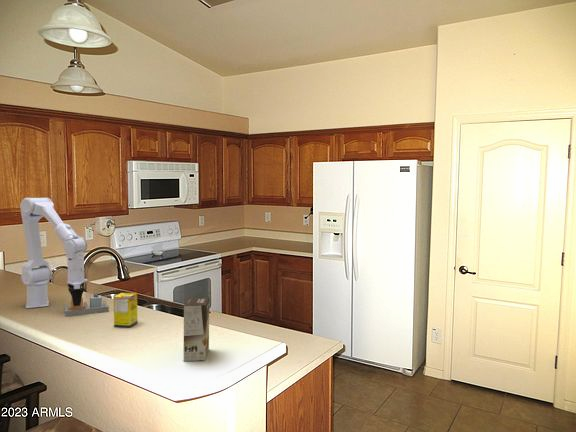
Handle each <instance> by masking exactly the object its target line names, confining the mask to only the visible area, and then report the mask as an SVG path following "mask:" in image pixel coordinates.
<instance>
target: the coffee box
mask: <svg viewBox="0 0 576 432" xmlns="http://www.w3.org/2000/svg"><path fill="white" fill-rule="evenodd" d="M209 349H210V297H207V296H206V297H203V296H202V297H199V296H198V297H188V299H187V300H186V301H185V303H184V304H183V362H195V361H196V362H198V361H199V360H204V361H206V359H207V355H208V353H209V351H210V350H209ZM197 360H198V361H197ZM199 362H200V361H199Z"/></svg>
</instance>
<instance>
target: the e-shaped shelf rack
mask: <svg viewBox="0 0 576 432" xmlns="http://www.w3.org/2000/svg"><path fill="white" fill-rule="evenodd" d="M68 306H69V305H68V303H64V317H73V316H74V317H75V316H80V315H81V316H82V315H90V314H99V313H107V312H109V309H110V308H109V305H108V303H107V301H106V300H105V299H102V307H94V308H90V307H89V305H88V302H87V301H83V309H76V310H71V309H68V308H69V307H68Z"/></svg>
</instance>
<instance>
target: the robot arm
mask: <svg viewBox="0 0 576 432" xmlns="http://www.w3.org/2000/svg"><path fill="white" fill-rule="evenodd" d="M19 206H20V214H21V215H20V216H21V220H22V227H23V228H22V229H23V234H24V235H23V236H24V242H25V248H26V249H25V250H26V256H27V262H25V263H24V264H23V266H21V275H20V276H21V277H20V278H21V281H22V283H23V284H24V285H25V286H26V303H25V309H33V308H40V307H41V308H42V307H49V303H50V301H49V299H48V283H49V282H50V280H51V279H52V277H53V270H52V269H51V266H50V262H48V261H47V260H45V259H44V257H43V248H42V241H41V240H42V239H41V234H40V226H39V225H40V224H39V221H40V220H41V219H42V218H45V219H46V220H47V221H48V222H49V224H51V225H52V226H53V227H54V228H55V229H54V234H55V235H56V236H57V238H58V239H60V241H61V242H62V244H64V245H63V250H64V252H65V256H66V258H67V280H66V283H67V286H68V293H69V294H70V295H71V298H72V301H73V305H74V306H80V303H81V298H83V295H84V292H85V290H86V287H83V286H84V283H86V282H88V278H85V252H86V251H87V249H88V242H87V240H86V239H85V238H84V237H82V236H80V235H78V234H77V233H76V231H74V229H73V228H72V226H71V224H68V223H64V222H63V220H62V219H61V217H60V215H59V214H58V213H57V211H56V210H55V208H54V207H55V205H54V202H53V201H52V199H50V198H49V197H48V196H47V197H24V198H23V199H22V201H21V202H20V203H19Z"/></svg>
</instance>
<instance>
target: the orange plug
mask: <svg viewBox="0 0 576 432" xmlns="http://www.w3.org/2000/svg"><path fill="white" fill-rule="evenodd" d="M76 309H84V298H83V297H82V298H81V303H80V306H74V305H73V301H72V297H71V298H70V310H76Z"/></svg>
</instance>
